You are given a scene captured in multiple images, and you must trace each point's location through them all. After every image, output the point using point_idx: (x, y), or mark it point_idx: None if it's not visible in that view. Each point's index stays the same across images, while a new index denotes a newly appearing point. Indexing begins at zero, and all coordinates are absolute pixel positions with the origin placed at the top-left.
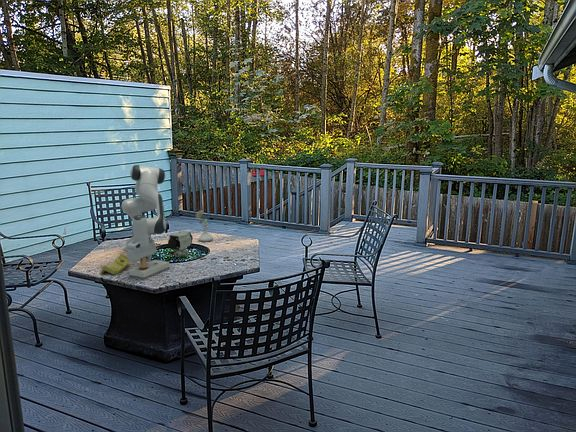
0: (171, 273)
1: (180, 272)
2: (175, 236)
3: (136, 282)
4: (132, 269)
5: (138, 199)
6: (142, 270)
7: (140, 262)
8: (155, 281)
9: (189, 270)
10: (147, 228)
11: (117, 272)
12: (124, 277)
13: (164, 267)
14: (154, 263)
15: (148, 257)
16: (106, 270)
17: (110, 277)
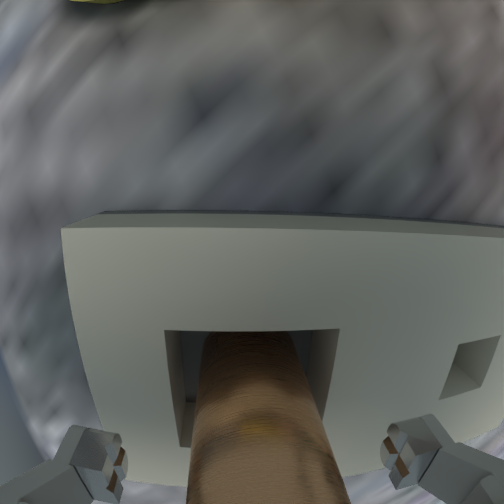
0: (359, 483)
1: (388, 495)
2: None
3: (51, 412)
4: (110, 277)
5: None
6: (169, 441)
7: (187, 498)
8: (162, 501)
9: (426, 494)
10: None
11: (105, 2)
12: (52, 192)
13: None
14: (488, 334)
15: (461, 471)
16: None
17: (9, 51)
